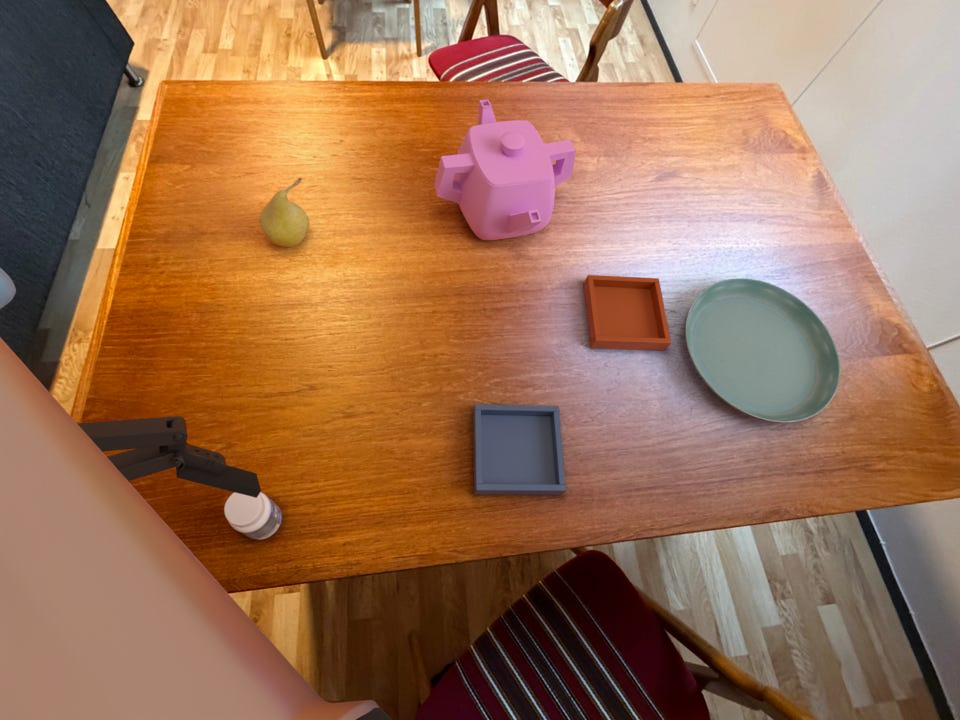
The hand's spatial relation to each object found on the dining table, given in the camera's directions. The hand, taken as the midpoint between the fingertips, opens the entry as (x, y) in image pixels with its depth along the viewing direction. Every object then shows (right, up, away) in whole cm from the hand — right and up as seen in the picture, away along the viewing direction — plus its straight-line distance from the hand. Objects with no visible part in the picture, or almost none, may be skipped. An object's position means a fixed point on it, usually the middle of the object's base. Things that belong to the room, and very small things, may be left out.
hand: (218, 550), depth 47 cm
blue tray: (+28, +4, +27) cm, 39 cm away
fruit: (-7, +36, +38) cm, 53 cm away
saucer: (+65, +17, +38) cm, 77 cm away
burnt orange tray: (+45, +23, +38) cm, 64 cm away
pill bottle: (-4, -3, +20) cm, 21 cm away
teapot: (+26, +42, +45) cm, 67 cm away
